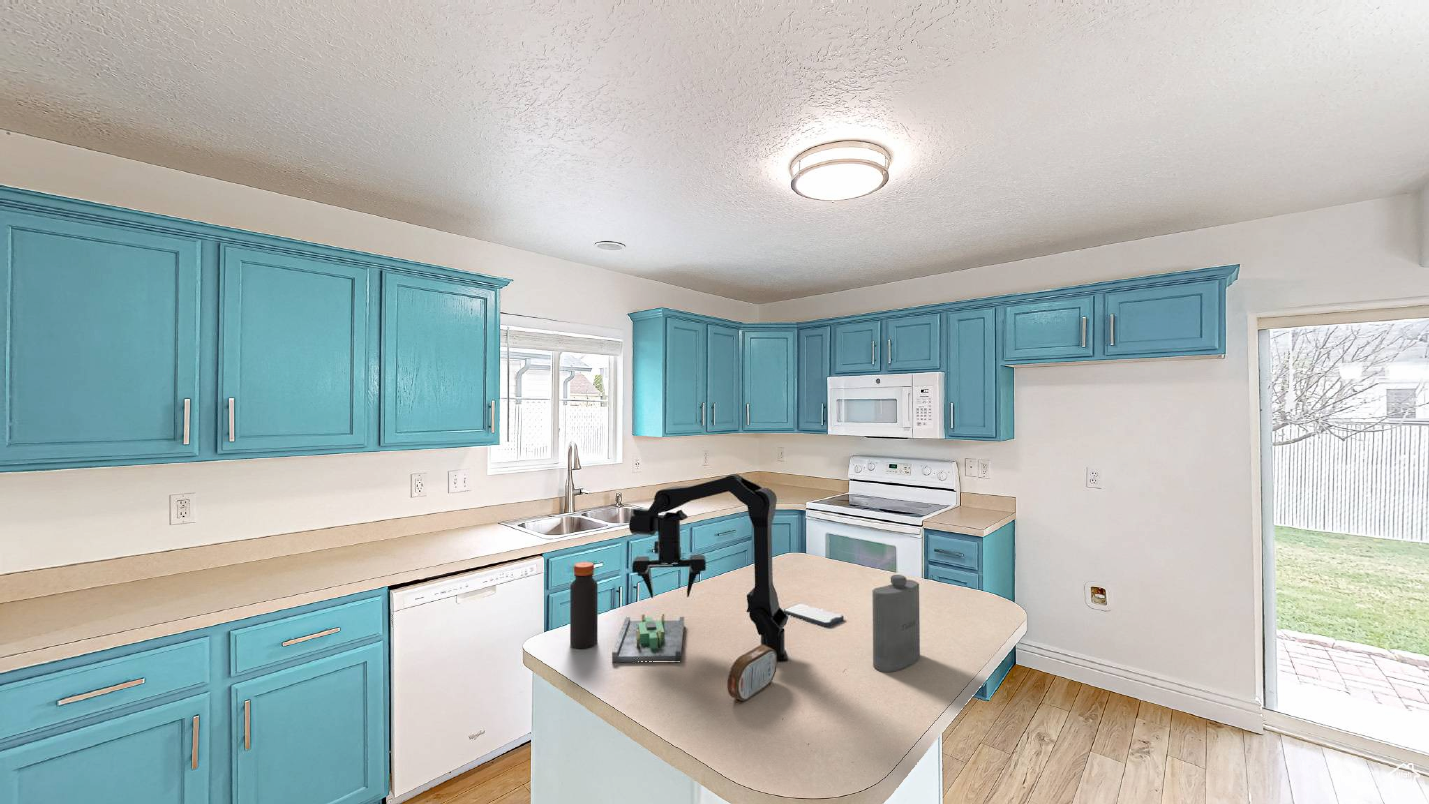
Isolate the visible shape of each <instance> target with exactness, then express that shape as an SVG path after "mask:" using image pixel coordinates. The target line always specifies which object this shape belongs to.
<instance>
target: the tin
mask: <svg viewBox="0 0 1429 804" xmlns="http://www.w3.org/2000/svg"><path fill="white" fill-rule="evenodd" d="M777 662H778V661H777V654H776V652H775V650H773V649H772V648H769V647H767V646H765V645H761V644H760V645H758V646H756V647H754V648H752V649H751V650H748V651H747V652H745V653H744V654H742V655H740V656H738V657H737V658H736V659H735V661H734V662H733V663H732V666H731V668H730V670H729V673H728V676H727V681H726V682H727V685H726V686H727V688H726V689H727V692H728V695H729V696H730V697H731V698H734V699H737V700H738V701H741V702H746V701H748V700H749V699H751V698H752V697H754V696H755V695H757V694H759V693H760V692H761V691H763V690H764V689H766V688H767V687H769V685H770V684H771V683H772V681H773V680H774V677H775V675H776V671H777V664H778V663H777ZM759 691H760V692H759ZM756 693H757V694H756ZM753 695H754V696H753Z"/></svg>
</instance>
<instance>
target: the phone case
mask: <svg viewBox="0 0 1429 804" xmlns="http://www.w3.org/2000/svg"><path fill="white" fill-rule="evenodd" d="M783 611H784V612H785V614H787V616H789V615H791V616H790V617H792V616H793V617H792V618H795V617H797V618H796V619H798V618H799V619H798V620H801V619H803V620H802V621H804V620H805V621H804V622H808V623H810V622H811V624H814V625H816V624H817V626H819V625H820V627H822V626H824V627H823V628H827V627H828V628H831V627H833V625H834V626H836V625H837V624H840V623H842V622H844V620H845V619H844V618H845V617H844V615H842V614H839V613H836V612H832V611H829V610H825V609H821V608H818V607H814V606H811V605H807V604H804V603H796V604H794V605H792V606H788V607H786V608H783ZM835 624H836V625H835Z"/></svg>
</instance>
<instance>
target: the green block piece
mask: <svg viewBox="0 0 1429 804" xmlns="http://www.w3.org/2000/svg"><path fill="white" fill-rule="evenodd" d="M638 630H639V631H640V644H648V643H649V646H650V649H654V648H658V630H661V642H665V632H664V628H663V625H662V622H661V620H653V617H652V616H645V622H638Z"/></svg>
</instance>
